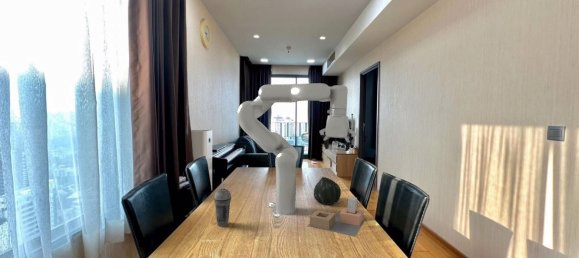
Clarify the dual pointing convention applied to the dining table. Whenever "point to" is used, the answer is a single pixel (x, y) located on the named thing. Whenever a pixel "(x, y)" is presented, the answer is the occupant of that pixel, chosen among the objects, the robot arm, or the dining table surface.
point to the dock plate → (338, 221)
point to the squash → (327, 191)
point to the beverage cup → (222, 206)
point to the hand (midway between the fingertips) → (336, 149)
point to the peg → (352, 205)
